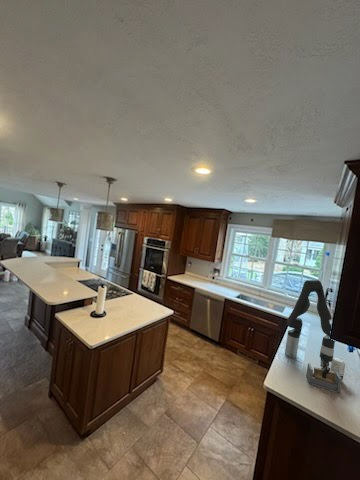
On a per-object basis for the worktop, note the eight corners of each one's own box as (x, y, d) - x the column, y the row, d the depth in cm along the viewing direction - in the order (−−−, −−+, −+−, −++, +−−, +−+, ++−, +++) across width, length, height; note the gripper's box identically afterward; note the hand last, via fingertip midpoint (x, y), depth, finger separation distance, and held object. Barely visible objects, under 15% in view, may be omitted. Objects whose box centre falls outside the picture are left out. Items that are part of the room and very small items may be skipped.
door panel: (313, 379, 151) (314, 366, 151) (333, 384, 147) (334, 371, 147) (314, 381, 149) (315, 368, 149) (334, 386, 144) (335, 373, 144)
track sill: (306, 376, 155) (308, 362, 155) (334, 385, 149) (337, 371, 149) (308, 383, 147) (310, 369, 147) (339, 393, 141) (341, 379, 140)
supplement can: (327, 374, 162) (330, 355, 161) (340, 378, 159) (343, 358, 158) (330, 380, 154) (333, 360, 154) (344, 384, 151) (347, 364, 151)
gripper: (318, 346, 155) (314, 369, 156) (323, 355, 142) (319, 380, 143) (330, 349, 153) (326, 372, 153) (336, 359, 140) (332, 384, 140)
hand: (323, 376), depth 148 cm, fingers closed on door panel, 2 cm apart
